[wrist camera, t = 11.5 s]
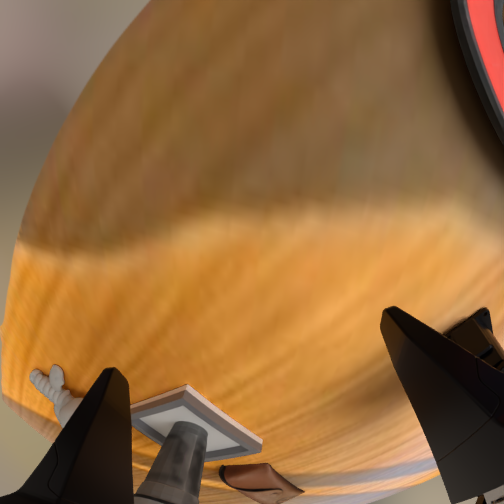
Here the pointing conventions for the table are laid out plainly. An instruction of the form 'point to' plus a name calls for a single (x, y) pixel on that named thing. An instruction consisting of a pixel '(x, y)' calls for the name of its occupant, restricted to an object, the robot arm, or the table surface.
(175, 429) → the beverage cup
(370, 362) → the table surface
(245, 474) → the sunglasses case
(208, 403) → the tray
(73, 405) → the toy creature
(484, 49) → the electronic game
